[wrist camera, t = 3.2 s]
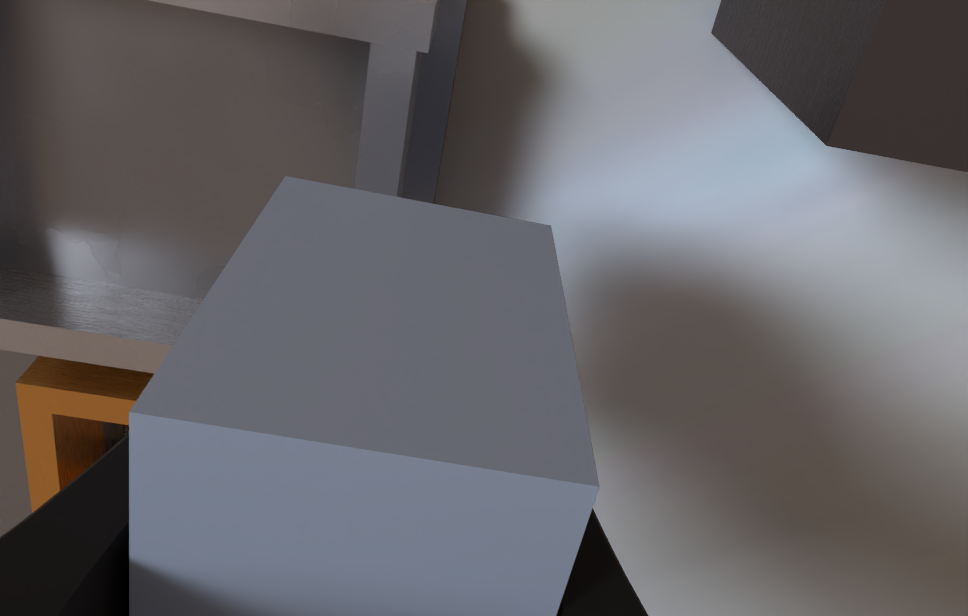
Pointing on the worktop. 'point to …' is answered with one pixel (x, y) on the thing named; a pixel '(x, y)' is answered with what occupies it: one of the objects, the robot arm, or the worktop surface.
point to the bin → (175, 180)
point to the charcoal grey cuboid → (862, 70)
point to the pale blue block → (365, 422)
